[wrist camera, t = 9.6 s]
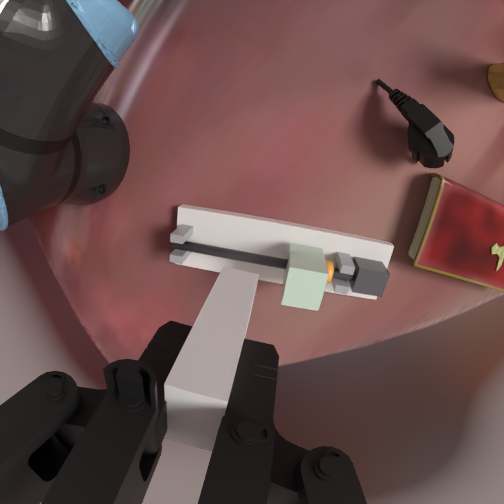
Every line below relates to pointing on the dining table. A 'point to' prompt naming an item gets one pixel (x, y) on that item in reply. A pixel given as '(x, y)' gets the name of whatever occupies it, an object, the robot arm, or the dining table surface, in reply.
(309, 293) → the pale green block
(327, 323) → the dining table surface
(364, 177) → the dining table surface
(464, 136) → the dining table surface
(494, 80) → the vase
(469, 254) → the hardcover book
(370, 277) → the linear slide rail
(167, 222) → the dining table surface
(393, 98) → the power plug
